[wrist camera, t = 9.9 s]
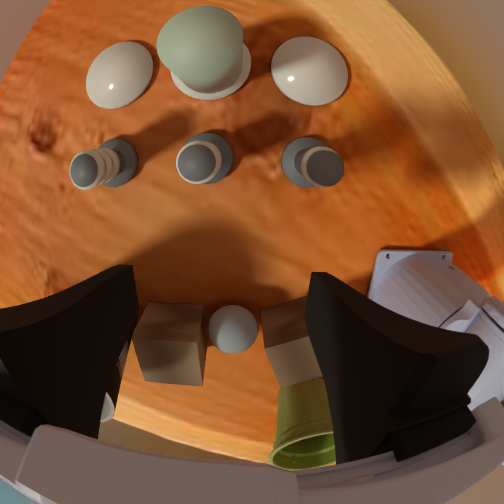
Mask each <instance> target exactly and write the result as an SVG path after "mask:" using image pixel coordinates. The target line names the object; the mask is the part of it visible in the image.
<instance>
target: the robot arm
mask: <svg viewBox="0 0 504 504" xmlns="http://www.w3.org/2000/svg"><path fill="white" fill-rule="evenodd" d="M387 254H389V256H388V257H386V255H387ZM442 256H443V257H442ZM452 258H453V253H452V252H450V251H425V250H389V249H382V250H380V251H379V252H378V254H377V258H376V262H375V267H374V271H373V275H372V279H371V283H370V287H369V291H368V295H367V297H366V296H364V295H362V294H361V293H359V292H358V291H356V290H355V289H353V288H351V287H350V286H348V285H347V284H345V283H344V282H342V281H341V280H339V279H338V278H336V277H334V276H333V275H331V274H329V273H327V272H312V273H311V279H310V285H309V290H308V296H307V302H306V307H305V312H304V316H305V322H306V327H307V332H308V336H309V339H310V342H311V345H312V347H313V350H314V353H315V356H316V359H317V362H318V364H319V367H320V370H321V373H322V376H323V379H324V383H325V387H326V392H327V397H328V402H329V408H330V414H331V420H332V427H333V435H334V444H335V456H336V465H331V466H325V467H319V468H312V469H304V470H295V471H289V470H286V469H282V468H279V467H275V466H272V465H269V464H266V463H251V462H239V461H230V460H211V459H199V458H188V457H180V456H172V455H165V454H159V453H153V452H148V451H142V450H137V449H133V448H128V447H124V446H120V445H115V444H112V443H108V442H104V441H101V440H98V433H99V427H100V420H101V414H102V409H103V405H104V400H105V396H106V392H107V388H108V385H109V381H110V378H111V375H112V372H113V369H114V367H115V365H116V362H117V360H118V358H119V356H120V354H121V352H122V350H123V347H124V345H125V343H126V341H127V339H128V337H129V335H130V333H131V331H132V328H133V326H134V323H135V320H136V317H137V313H138V310H139V304H138V298H137V292H136V286H135V279H134V272H133V265H116V266H113V267H111V268H109V269H106V270H104V271H102V272H100V273H98V274H96V275H94V276H92V277H90V278H88V279H86V280H84V281H82V282H80V283H78V284H76V285H74V286H72V287H70V288H67V289H65V290H63V291H61V292H58V293H56V294H53V295H51V296H48V297H45V298H42V299H39V300H36V301H32V302H29V303H25V304H22V305H18V306H13V307H8V308H2V309H0V479H1V480H3V481H4V482H6V483H7V484H8V485H10V486H11V487H13V488H14V489H16V490H17V491H19V492H20V493H22V494H24V495H25V496H27V497H29V498H30V499H32V502H31V504H443V503H445V502H447V501H449V500H450V499H452V498H453V497H455V496H457V495H459V494H460V493H462V492H463V491H465V490H466V489H468V488H469V487H471V486H472V485H474V484H475V483H477V482H478V481H479V480H481V479H482V478H484V477H485V476H486V475H488V474H489V473H490V472H492V471H493V470H494V469H495V468H497V467H498V466H499V465H500V464H503V466H504V302H502V301H501V300H500V299H499V298H497V297H496V296H491V297H490V296H489V294H488V292H487V291H486V290H485V289H484V288H483V287H482V286H481V285H480V284H478V283H477V282H476V281H475V280H473V279H472V278H471V277H470V276H468V275H467V274H466V273H464V272H463V271H462V270H461V269H459V268H458V267H457V266H455V265H454V264H452V263H451V262H452Z"/></svg>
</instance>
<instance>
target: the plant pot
mask: <svg viewBox="0 0 504 504" xmlns="http://www.w3.org/2000/svg"><path fill="white" fill-rule="evenodd" d="M269 461H270V463H271V465H273V466H275V467H279V468H282V469H286V470H292V471H295V470H304V469H312V468H319V467H323V466H327V465H330V464H333V463H335V462H336V456H335V444H334V435H333V427H332V420H331V414H330V408H329V402H328V397H327V392H326V387H325V383H324V379H322V378H318V377H317V378H314V379H311V380H307V381H304V382H300V383H297V384H293V385H289V386H285V387H283V388H282V389H281V390H280V392H279V394H278V408H277V430H276V441H275V442H274V445H273V451H272V452H271V454H270V456H269Z"/></svg>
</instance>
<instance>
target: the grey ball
mask: <svg viewBox="0 0 504 504" xmlns="http://www.w3.org/2000/svg"><path fill="white" fill-rule="evenodd" d="M257 332H258V327H257V322H256V320H255V318H254V316H253V315H252V313H251V312H250V311H248V310H247V309H246V308H244V307H241V306H238V305H227V306H224V307H222V308H220V309H218V310H217V311H216V312H215V313H214V314H213V315H212V317H211V319H210V321H209V324H208V334H209V337H210V340H211V342H212V343H213V344H214V345H215V347H217V348H218V349H219V350H221V351H223V352H226V353H230V354H236V353H240V352H243V351H245V350H247V349H248V348H249V347H251V346H252V344H253V343H254V341H255V339H256V337H257Z"/></svg>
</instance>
